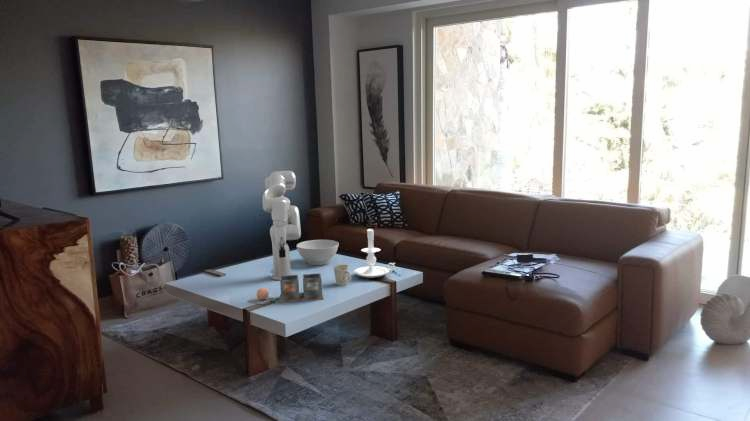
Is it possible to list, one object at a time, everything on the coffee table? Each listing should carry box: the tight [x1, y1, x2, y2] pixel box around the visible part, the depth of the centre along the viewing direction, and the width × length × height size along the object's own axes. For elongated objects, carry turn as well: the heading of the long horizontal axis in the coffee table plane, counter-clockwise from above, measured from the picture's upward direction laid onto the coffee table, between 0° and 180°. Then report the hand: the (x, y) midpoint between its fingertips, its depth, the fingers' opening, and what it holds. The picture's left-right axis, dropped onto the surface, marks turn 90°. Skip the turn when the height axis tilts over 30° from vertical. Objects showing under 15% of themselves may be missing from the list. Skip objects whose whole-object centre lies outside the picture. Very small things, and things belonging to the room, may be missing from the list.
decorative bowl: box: [296, 239, 339, 266], centre depth 376 cm, size 27×27×12 cm
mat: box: [247, 295, 279, 305], centre depth 303 cm, size 11×11×1 cm
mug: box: [333, 263, 352, 286], centre depth 327 cm, size 8×13×10 cm, turn 44°
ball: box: [256, 287, 269, 300], centre depth 303 cm, size 6×6×6 cm
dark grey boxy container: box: [279, 272, 324, 303], centre depth 305 cm, size 22×11×11 cm, turn 99°
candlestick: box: [353, 228, 396, 279], centre depth 340 cm, size 21×25×28 cm
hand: (282, 255), depth 308 cm, fingers open, 9 cm apart
